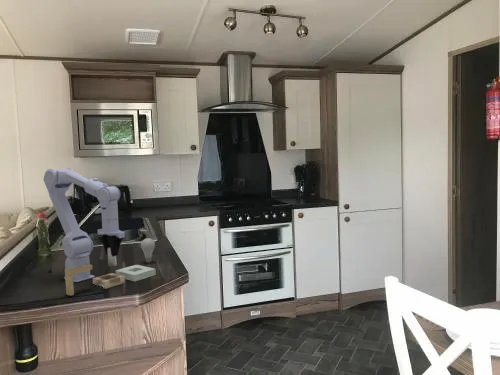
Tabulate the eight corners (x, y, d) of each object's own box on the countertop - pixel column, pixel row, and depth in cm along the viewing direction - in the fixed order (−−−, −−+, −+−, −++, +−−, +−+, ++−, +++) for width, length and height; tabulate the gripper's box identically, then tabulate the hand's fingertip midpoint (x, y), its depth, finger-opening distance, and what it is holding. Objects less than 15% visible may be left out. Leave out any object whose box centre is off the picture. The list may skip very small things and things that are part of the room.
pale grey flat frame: (115, 276, 155) (115, 270, 155) (136, 270, 163) (136, 264, 163) (134, 281, 148) (134, 275, 148) (155, 275, 156) (155, 268, 156)
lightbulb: (141, 265, 172) (140, 240, 171) (141, 261, 178) (140, 237, 177) (156, 263, 174) (155, 239, 173) (155, 260, 180) (154, 236, 179)
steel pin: (106, 265, 147) (105, 247, 146) (113, 264, 149) (112, 245, 149) (111, 267, 145) (110, 248, 145) (118, 265, 147) (117, 246, 147)
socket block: (93, 285, 145) (92, 278, 145) (112, 279, 152) (111, 273, 152) (105, 288, 141) (105, 281, 140) (124, 282, 147) (124, 276, 147)
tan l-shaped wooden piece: (66, 294, 135) (64, 269, 134) (89, 287, 141) (87, 263, 141) (70, 295, 133) (69, 270, 132) (93, 288, 140) (92, 264, 139)
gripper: (89, 219, 147) (91, 254, 148) (111, 221, 138) (113, 260, 139) (106, 216, 153) (108, 251, 154) (128, 219, 144) (130, 255, 145)
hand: (112, 255), depth 147 cm, fingers closed on steel pin, 3 cm apart
